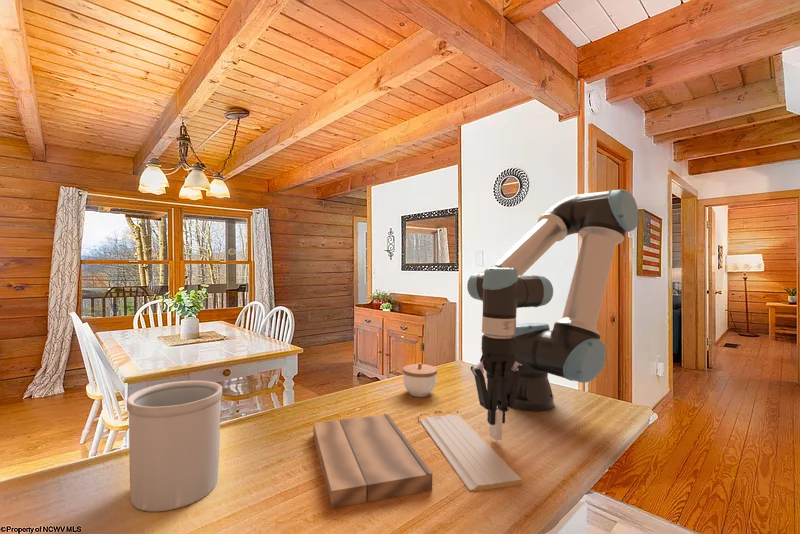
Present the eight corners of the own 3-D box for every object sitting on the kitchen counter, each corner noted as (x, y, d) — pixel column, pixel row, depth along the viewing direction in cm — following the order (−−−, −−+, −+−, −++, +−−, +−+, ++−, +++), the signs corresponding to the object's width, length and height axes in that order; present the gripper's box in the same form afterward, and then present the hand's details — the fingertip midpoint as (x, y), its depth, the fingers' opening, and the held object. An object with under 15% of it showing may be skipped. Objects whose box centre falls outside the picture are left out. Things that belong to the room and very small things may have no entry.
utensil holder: (155, 467, 79) (155, 379, 78) (233, 465, 80) (233, 378, 79) (106, 516, 64) (105, 408, 63) (202, 513, 65) (202, 407, 64)
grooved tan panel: (388, 426, 99) (388, 413, 99) (432, 490, 72) (432, 472, 72) (313, 435, 93) (313, 422, 93) (331, 508, 67) (331, 490, 66)
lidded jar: (400, 387, 128) (400, 359, 127) (433, 387, 129) (433, 358, 128) (404, 400, 117) (404, 368, 117) (439, 399, 118) (440, 368, 118)
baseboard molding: (462, 495, 72) (521, 487, 75) (462, 480, 72) (522, 472, 75) (414, 424, 102) (458, 420, 105) (414, 412, 102) (458, 409, 105)
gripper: (481, 339, 85) (478, 448, 86) (533, 337, 89) (529, 441, 90) (465, 333, 92) (462, 433, 93) (513, 331, 96) (510, 427, 97)
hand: (495, 437), depth 91 cm, fingers closed
